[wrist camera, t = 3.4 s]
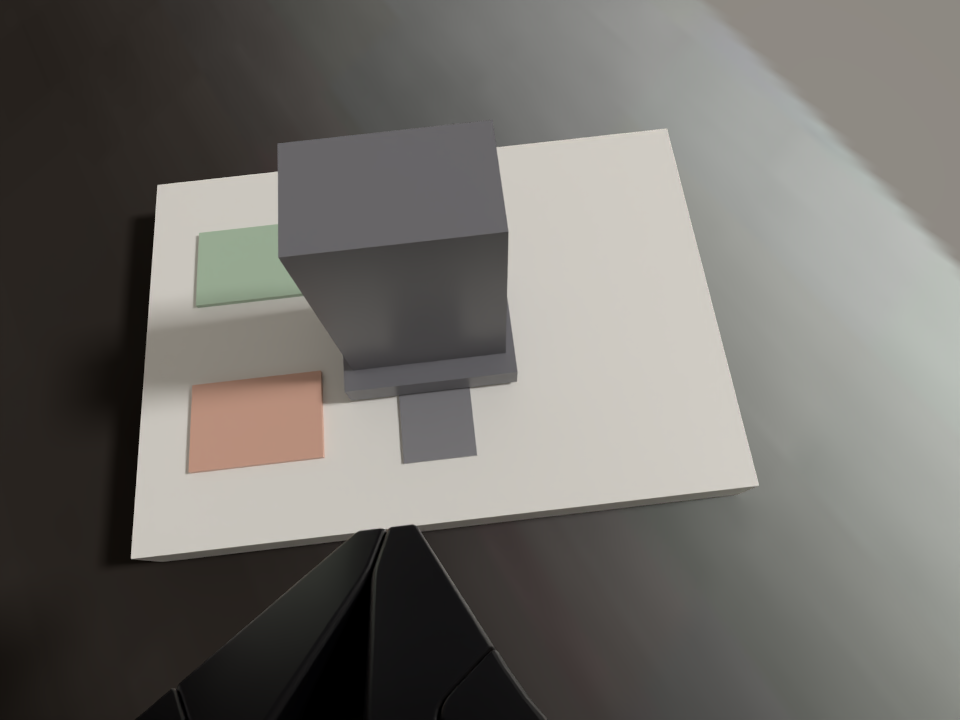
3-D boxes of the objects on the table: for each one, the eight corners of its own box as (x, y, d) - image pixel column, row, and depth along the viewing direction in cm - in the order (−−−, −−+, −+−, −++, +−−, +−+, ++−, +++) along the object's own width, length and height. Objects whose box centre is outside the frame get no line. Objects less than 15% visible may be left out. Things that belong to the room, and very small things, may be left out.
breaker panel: (737, 494, 22) (761, 484, 20) (161, 562, 22) (127, 558, 20) (655, 160, 27) (668, 125, 25) (181, 213, 27) (154, 182, 25)
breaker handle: (516, 381, 22) (526, 258, 14) (351, 400, 22) (264, 288, 14) (501, 266, 23) (501, 94, 15) (346, 283, 23) (265, 120, 15)
